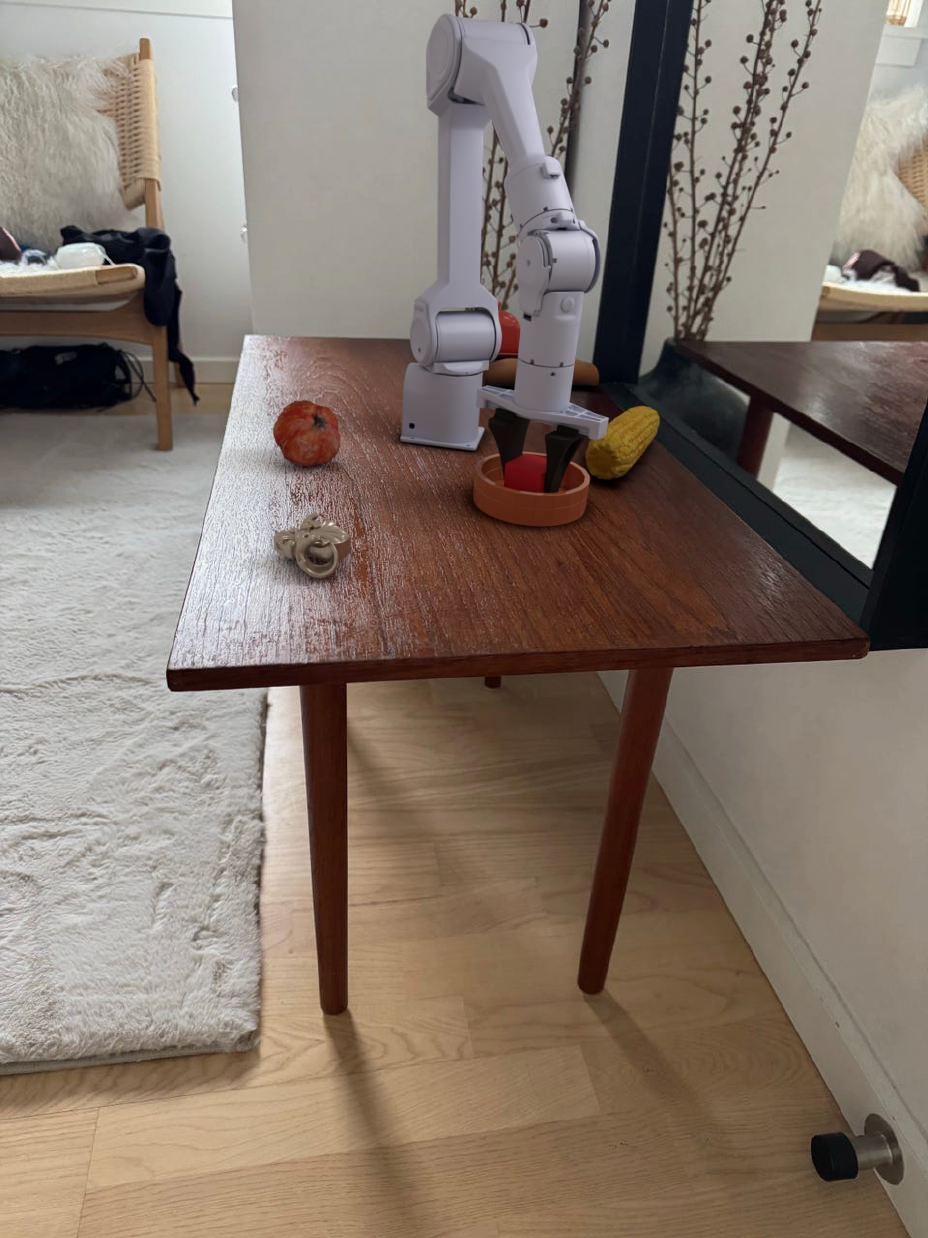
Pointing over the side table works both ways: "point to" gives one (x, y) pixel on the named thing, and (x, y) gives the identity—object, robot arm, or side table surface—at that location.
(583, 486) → the pot
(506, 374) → the brown rounded bar
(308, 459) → the pomegranate
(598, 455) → the food
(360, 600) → the side table surface
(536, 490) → the red block
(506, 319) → the butter dish
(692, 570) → the side table surface
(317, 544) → the ornament
